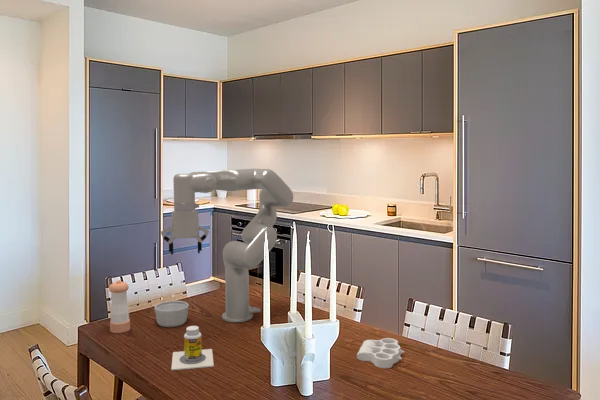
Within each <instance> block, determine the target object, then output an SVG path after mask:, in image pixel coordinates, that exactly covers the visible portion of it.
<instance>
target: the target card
mask: <svg viewBox="0 0 600 400" xmlns="http://www.w3.org/2000/svg"><path fill="white" fill-rule="evenodd" d="M212 367H215V365H214V355H213V349H212V348H206V349H202V357H201V358H200V359H198V360H195V361H188V360H186V359H185V355H184V350H183V351H173V352H172V359H171V369H170V370H171V371H181V370H191V369H201V368H203V369H204V368H212Z"/></svg>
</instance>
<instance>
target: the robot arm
mask: <svg viewBox="0 0 600 400" xmlns="http://www.w3.org/2000/svg"><path fill="white" fill-rule="evenodd" d="M172 180H173V210H172V211H171V217H170V226H169V227H166V228H165V229H163V230H161V231H160V234H161V237H162V238H163V240H165V241H166V242H167V244H168V252H169V253H170V255H174V242H173V241H174V240H175V239H196V240H197V254H200V253H201V252H202V247H203V246H202V243H203V241H205V239H206V238H207V237H208V235H209V232H210V230H209V229H207V228H206V227H203V226H201V225H200V223H199V222H200V221H199V213H198V210H196V209H197V208H198V209H199V208H200V204H199V203H196V194H195V193H201V194H208V193H211V192H213V191H223V192H224V191H225V192H236V191H237V192H239V191H249V190H260V192H259V196H258V197H259V209H258V211H257V213H256V215H255V216H254V217H253V218H252V219H251V220H250V222H248V224H247V225H246V226H245V227H244V228H243V230H242V232H241V239H242V241H239V240H232V241H230V242H227V243H226V244H225V245H224V247H223V249H222V259H223V264H224V276H225V277H224V278H225V283H224V284H225V288H224V289H225V312H223V313H222V315H221V319H222V320H223V321H225V322H228V323H243V322H249V321H250V320H251V319H253V318H254V314H255V313H261V307H257V306H251V305H250V281H249V280H250V277H249V275H250V273H249V270H250V269H251V270H252V269H254V268H256V267H258V266H259V265H260V264H261V262H262V261H263V260H264V259H265V258H264V242H265V228H266V227H267V239H268V249H269V252H271V250H272V249H273V248H274V246H275V244H276V243H277V238H278V233H277V231H276V229H275V227H274V225H275V223H276V221H277V217H278V215H277V208H287V207H290V206H291V205H292V203H293V201H294V194H293V193H294V192H293V190H292V189H291V188H290V187H289V185H288V184H287V183H286V182H285V181H284V180H283V179H282V178H281V177H280V176H279V175H278V173H276V172H275V171H274V170H272V169H269V168H243V169H242V168H241V169H238V168H237V169H225V170H222V169H221V170H212V171H211V170H210V171H192V172H190V173H176V174H174V176H173V179H172ZM200 231H201V232H203V235H201V236H200ZM169 232H170V237H169V236H167V233H169Z"/></svg>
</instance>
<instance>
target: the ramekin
mask: <svg viewBox="0 0 600 400" xmlns="http://www.w3.org/2000/svg"><path fill="white" fill-rule="evenodd" d="M189 307H190V305H189V303H188V302H186V301H184V300H183V301H182V300H166V301H162V302H159V303H157V304H155V306H154V314H155V320H156V322H157V324H158V325H159V326H160V327H163V328H174V327H175V328H176V327H178V326H179V327H180V326H182V325H184V324H185V323H186V322H187V320H188V313H189V312H188V311H189Z"/></svg>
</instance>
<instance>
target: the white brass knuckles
mask: <svg viewBox="0 0 600 400" xmlns="http://www.w3.org/2000/svg"><path fill="white" fill-rule="evenodd" d="M403 353H405V350H403V349H401V346H400V345H399V341H398V340H397V339H395V338H392V337H391V338H390V337H385V338H384V337H383V338H382V339H377V340H375V339H366V340H364V341H362V345H361V346H360V347H359V350H358V352H357V354H356V359H358V360H359V361H361V362H369V363H370V362H371V363H373V365H374V366H375V367H377V368H380V369H390V368H393V365H394V364H397V363H398V362H400V361H401V360H403V358H402V357H401V356H402V355H401V354H403Z"/></svg>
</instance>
